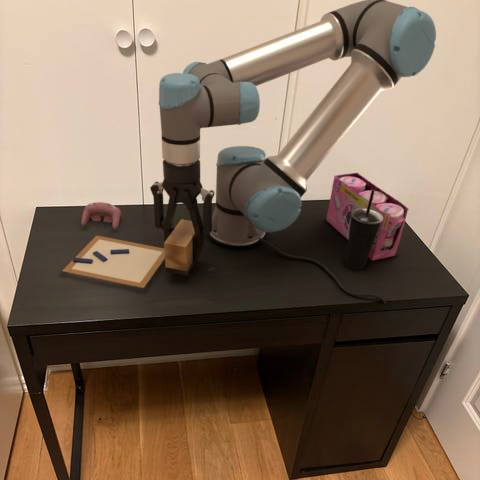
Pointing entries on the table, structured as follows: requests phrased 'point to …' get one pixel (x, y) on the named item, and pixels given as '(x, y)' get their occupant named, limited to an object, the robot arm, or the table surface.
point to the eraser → (180, 248)
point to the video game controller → (101, 208)
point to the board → (119, 262)
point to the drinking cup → (362, 235)
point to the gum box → (356, 197)
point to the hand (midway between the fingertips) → (184, 257)
